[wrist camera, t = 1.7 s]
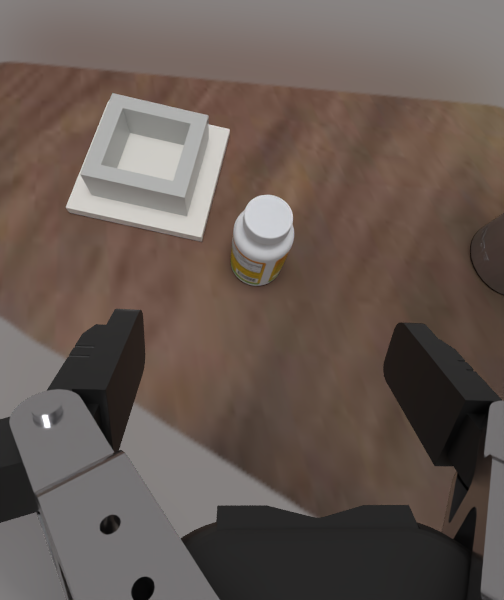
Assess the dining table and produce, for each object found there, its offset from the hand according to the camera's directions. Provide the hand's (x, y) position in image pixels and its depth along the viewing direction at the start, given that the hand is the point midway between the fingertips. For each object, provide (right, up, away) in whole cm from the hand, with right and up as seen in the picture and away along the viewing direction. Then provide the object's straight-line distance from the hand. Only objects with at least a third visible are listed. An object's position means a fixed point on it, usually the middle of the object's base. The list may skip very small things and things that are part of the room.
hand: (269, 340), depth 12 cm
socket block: (-11, +15, +29) cm, 35 cm away
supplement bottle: (0, +5, +27) cm, 28 cm away
